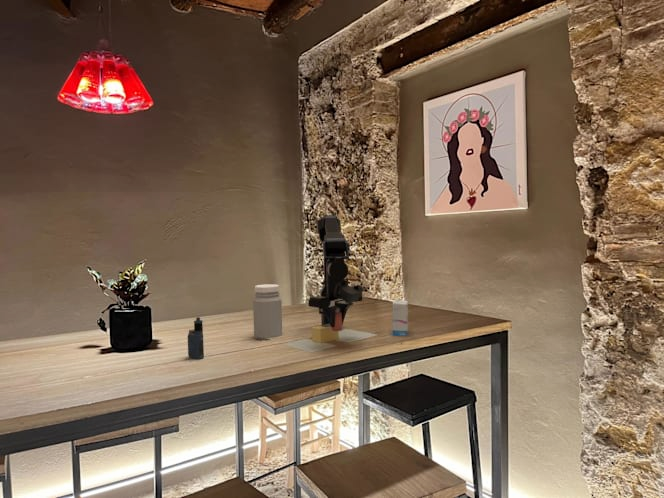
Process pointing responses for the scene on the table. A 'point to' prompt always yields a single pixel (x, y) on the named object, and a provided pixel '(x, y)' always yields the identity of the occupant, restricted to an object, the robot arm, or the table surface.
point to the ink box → (400, 318)
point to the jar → (267, 312)
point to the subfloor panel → (344, 338)
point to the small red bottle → (337, 320)
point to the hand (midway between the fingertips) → (336, 326)
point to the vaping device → (196, 340)
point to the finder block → (324, 334)
